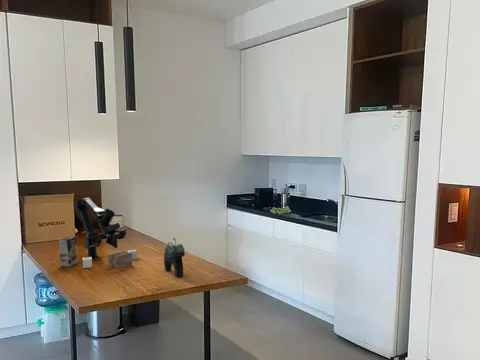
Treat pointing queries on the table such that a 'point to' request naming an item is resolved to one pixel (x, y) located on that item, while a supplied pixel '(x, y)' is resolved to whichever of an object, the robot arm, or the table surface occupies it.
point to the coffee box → (68, 251)
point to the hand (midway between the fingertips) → (116, 247)
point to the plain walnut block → (119, 259)
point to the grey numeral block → (133, 253)
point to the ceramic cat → (174, 258)
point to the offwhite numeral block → (87, 262)
